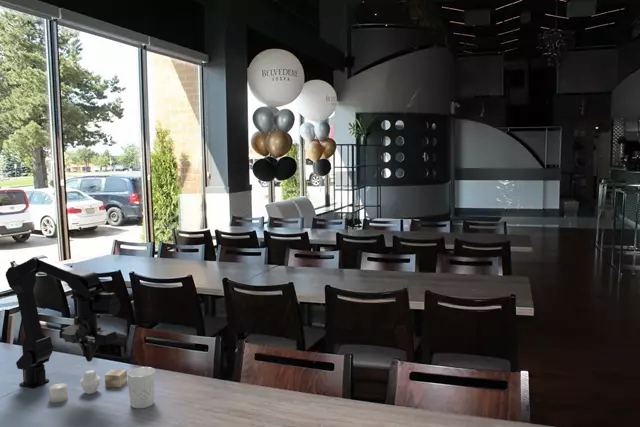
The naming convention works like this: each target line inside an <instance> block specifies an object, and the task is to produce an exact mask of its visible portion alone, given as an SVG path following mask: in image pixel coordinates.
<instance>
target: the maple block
mask: <svg viewBox="0 0 640 427" xmlns="http://www.w3.org/2000/svg"><path fill="white" fill-rule="evenodd" d="M127 373H128V370H127V369H120V368H119V369H117V368H115V369H114V368H112V369H111V370H109V371H108V372H107V373H105V375H104V386H105V387H107V388H108V387H111V388H112V387H113V388H121V387H122V386H123V385H125V383H128V375H127Z"/></svg>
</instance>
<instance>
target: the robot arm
mask: <svg viewBox="0 0 640 427" xmlns="http://www.w3.org/2000/svg"><path fill="white" fill-rule="evenodd" d="M40 272H41V273H43V274H46V275H48V276H51V277H52V278H55V279H57V280H60V281H62V282H64V283H65V284H67V286H68V288H69V289H71V290H72V291H74V293H73V294H72V295H71V296H70V299H73V300H76V308H77V316H75V317H74V319H73V324H71V325H68V326H65V327H62V328H60V330H59V335H58V337H59V339H63V340H64V342H65V343H71V344H76V345H78V346H79V347H80V348H81V350H82V353H83V355H84V358H85V360H86V362H89V363H90V362H92V361H93V359H94V356H95V354H96V352H97V350H98V348H99V345H101V346H105V345H109V344H111V343H113V342H116V341H118V340H119V336H118V334H119V333H118V332H117V331H116V330H115V331H114V330H107V329H106V330H103V331H101V329H102V328H101V326H99V323H98V319H99V318H101V316H102V315H103V316H112V317H114V316H116V315H118V314H119V312H120V310H121V303H122V302H121V301H120V299H119V298H118V297H117V295H116V292H108V290H107V289H106V287H105V285H104V283H103V282H102V281H101V280H100V278H99V275H98V273H97V272H95V271H91V270H86V269H77V268H73V267H71V266H68V265H65V264H63V263H61V262H59V261H56V260H54V259H52V258H49V257H48V256H46V255H43V254H42V255H37V256H34V257H31V258H30V259H28V260H27V261H25V262H23V263H20V264H17V265H13V266H10V267H8V268H7V270H6V271H5V278H6V279H5V280H6V281H7V284H8V287H9V288H10V289H11V290H12V291H13V293H15V295H16V299H17V303H18V309H19V313H20V319H21V322H22V327H23V331H24V332H23V333H24V336H25V337H24V340H23V344H22V346H21V348H22V349H21V350H22V355H21V356H20V357H19V359H18V360H17V361H16V362H15V364H16V368H17V369H18V370H22V379H23V381H21V382H20V383H19V386H20V387H21V386H22V387H27V388H31V389H35V388H37V387H39V386H41V385H44V384H46V383H48V382H50V379H48V378H46V377H47V376H46V369H45V367H46V366H45V363H48V362H49V361H50V359H51V356H52V354H53V349H54V346H53V343H52V337H51V336H46V335H45V333H43V330H42V325H41V320H40V315H39V312H38V311H39V310H38V305H37V301H36V296H35V292H34V289H35V286H36V282H37V274H39V273H40Z"/></svg>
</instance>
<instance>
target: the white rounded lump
mask: <svg viewBox="0 0 640 427" xmlns="http://www.w3.org/2000/svg"><path fill="white" fill-rule="evenodd" d="M48 388H49V389H48V390H49V391H48V392H49V393H48V394H49V395H48V396H49V402H50V403H54V404H55V403H57V404H58V403H63V402H64V401H66V400H67V399H68V398H69V397H68V385H67V384H66V383H62V382H61V383H56V384H52V385H51V386H49V387H48Z"/></svg>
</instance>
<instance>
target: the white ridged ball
mask: <svg viewBox="0 0 640 427" xmlns="http://www.w3.org/2000/svg"><path fill="white" fill-rule="evenodd" d="M101 381H102V379H101V377H100V376H99V375H98V374H97V372H96V370H93V369H92V370H91V369H90V370H87V371H85V372H84V374H83V376H82V378H81V379H80V381H79V385H80V387H81V388H82V390H83V391H84V393H85V394H88V395H89V394H94V393H96V392H97V391H98V389H99V387H100V384H101Z"/></svg>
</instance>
